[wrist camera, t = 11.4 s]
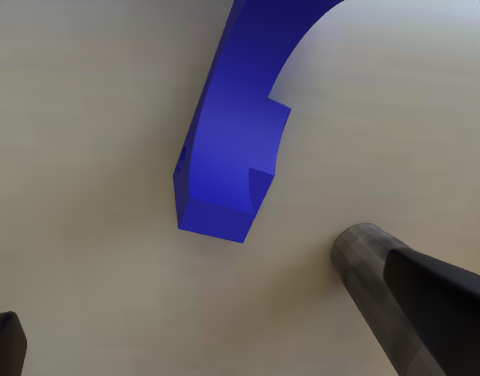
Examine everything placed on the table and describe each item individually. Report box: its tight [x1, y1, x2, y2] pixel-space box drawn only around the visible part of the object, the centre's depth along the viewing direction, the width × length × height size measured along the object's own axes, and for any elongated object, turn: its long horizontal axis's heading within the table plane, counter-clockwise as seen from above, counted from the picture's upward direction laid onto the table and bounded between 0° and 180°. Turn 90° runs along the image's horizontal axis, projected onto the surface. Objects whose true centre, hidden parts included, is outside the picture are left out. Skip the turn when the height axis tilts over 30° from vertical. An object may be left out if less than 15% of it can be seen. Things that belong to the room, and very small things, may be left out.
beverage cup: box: [331, 223, 446, 376], centre depth 15 cm, size 7×7×20 cm
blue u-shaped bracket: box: [173, 0, 344, 243], centre depth 15 cm, size 12×4×6 cm, turn 157°
